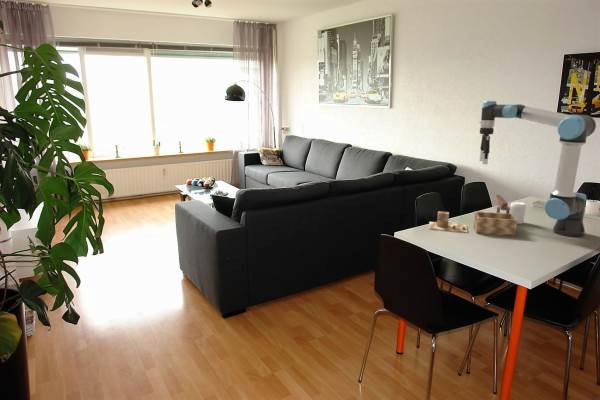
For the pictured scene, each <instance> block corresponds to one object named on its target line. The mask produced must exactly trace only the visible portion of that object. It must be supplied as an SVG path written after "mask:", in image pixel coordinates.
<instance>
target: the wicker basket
mask: <svg viewBox="0 0 600 400" xmlns="http://www.w3.org/2000/svg"><path fill="white" fill-rule="evenodd" d="M473 216H474V217H473V223H472V225H473V229H474V232H475V234H479V235H480V234H481V235H492V236H493V235H495V236H503V237H505V236H506V237H516V234H517V226H518V224H517V219H516V218H515V217H514V216H513V214H510V207H509V206H508V207H507V210H505V213H502V212H501V209H500V207H499V206H498V205H497V206H496V212H486V211H474V214H473Z"/></svg>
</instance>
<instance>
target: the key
mask: <svg viewBox="0 0 600 400" xmlns="http://www.w3.org/2000/svg"><path fill="white" fill-rule="evenodd" d="M494 202H495V203H496V204H497V206H498V207H500V211H501V210H502V211H506V210H507V207H509V203H508V201H507V200H505V198H504V197H503V196H502V194H495V197H494Z"/></svg>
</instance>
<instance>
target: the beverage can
mask: <svg viewBox="0 0 600 400" xmlns="http://www.w3.org/2000/svg"><path fill="white" fill-rule="evenodd" d="M509 214H513V216H514V217H515V218H516V219H517V225H521V224H524V221H525V216H526V215H525V214H526V203H524V202H521V201H512V202H511V204H510V212H509Z"/></svg>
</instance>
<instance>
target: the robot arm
mask: <svg viewBox="0 0 600 400" xmlns="http://www.w3.org/2000/svg"><path fill="white" fill-rule="evenodd" d="M495 118H501V119H514V118H516V119H521V120H524V121H530V122H534V123H537V124H543V125H547V126H549V127H555V128H557V133H558V135H559V143H560V144H561V150H560V155H559V162H558V168H557V172H556V179H555V185H554V189H553V190H552V191H551V192H550V194H549V199H548V200H547V201H546V202H545V204H544V211H545V214H546V215H547V216H548V217H549V218H550V219H552V220H556V221H555V224H554V226H553V228H552V232H553V233H555V234H558V235H561V236H566V237H575V238H579V237H584V236H585V233H586V230H585V226H584V216H585V211H586V210H585V209H586V204H587V194H585V193H582V192H581V193H580V192H575V191H574V190H575V183H576V178H577V172H578V167H579V162H580V156H581V150H582V146H584V145H585V144H586V142H587V137H590V136H591V135H592V134H594V133H595V131H596V128H597V123H596V120H595V118H593V117H592V116H590V115H587V114H576V113H572V114H566V113H561V112H557V111H551V110H548V109H547V110H546V109H541V108H537V107H533V106H526V105H524V104H519V103H517V104H497V101H495V100H484V101H483V102H482V107H481V116H480V121H479V124H480V128H479V134H480V135H482V136H481V143H480V151H479V152H480V153H479V162H482V165H488V164H489V153H490V148H491V147H490V143H491V142H490V141H491V140H490V139H491V136H490V135H493V134H494V127H495V122H496V121H495V120H496V119H495Z"/></svg>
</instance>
